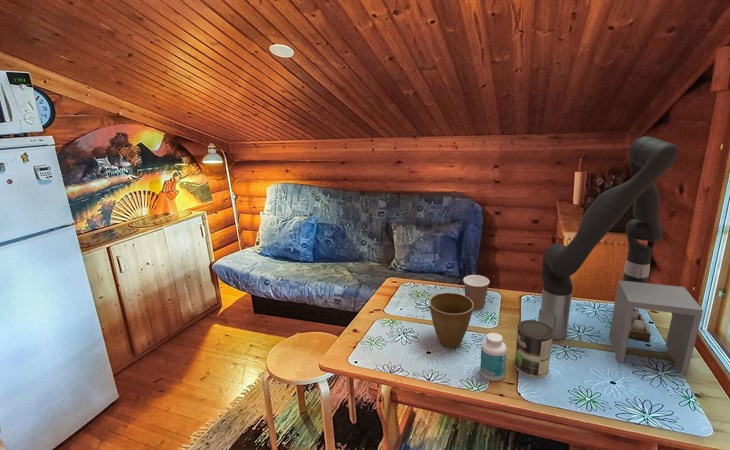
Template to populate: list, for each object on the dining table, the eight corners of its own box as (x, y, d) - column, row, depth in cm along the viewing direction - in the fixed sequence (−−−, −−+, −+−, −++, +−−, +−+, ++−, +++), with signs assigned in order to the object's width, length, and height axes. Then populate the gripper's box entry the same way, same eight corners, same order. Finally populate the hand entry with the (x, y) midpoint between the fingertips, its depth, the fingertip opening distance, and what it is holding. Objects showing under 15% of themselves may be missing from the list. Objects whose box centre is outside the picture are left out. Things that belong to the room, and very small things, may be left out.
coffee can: (521, 378, 118) (524, 338, 114) (509, 357, 128) (512, 320, 124) (555, 377, 118) (559, 337, 114) (541, 356, 128) (545, 319, 124)
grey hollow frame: (609, 336, 136) (618, 280, 130) (671, 345, 130) (684, 287, 123) (617, 362, 123) (628, 301, 116) (687, 374, 117) (703, 310, 110)
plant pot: (433, 356, 131) (433, 314, 126) (426, 331, 145) (426, 293, 140) (477, 354, 131) (479, 312, 126) (465, 329, 145) (467, 291, 140)
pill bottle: (506, 383, 117) (509, 345, 113) (481, 381, 118) (483, 343, 114) (503, 367, 124) (505, 330, 120) (479, 365, 125) (480, 329, 121)
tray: (620, 318, 147) (622, 305, 145) (639, 320, 145) (641, 308, 143) (628, 338, 135) (631, 325, 133) (649, 341, 132) (652, 328, 131)
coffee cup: (460, 300, 166) (461, 274, 162) (485, 300, 165) (486, 274, 161) (464, 312, 156) (465, 286, 153) (490, 312, 155) (492, 285, 152)
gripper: (620, 264, 149) (613, 303, 154) (628, 279, 137) (621, 321, 142) (643, 266, 146) (636, 306, 151) (653, 281, 134) (645, 324, 140)
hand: (628, 313), depth 147 cm, fingers closed
